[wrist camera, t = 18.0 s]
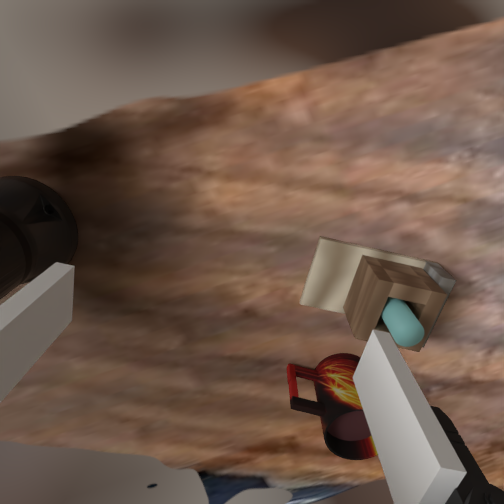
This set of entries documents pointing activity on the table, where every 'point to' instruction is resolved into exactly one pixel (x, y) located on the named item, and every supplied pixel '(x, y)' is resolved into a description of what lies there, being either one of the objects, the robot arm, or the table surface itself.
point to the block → (390, 285)
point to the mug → (335, 405)
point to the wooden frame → (344, 268)
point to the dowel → (402, 323)
